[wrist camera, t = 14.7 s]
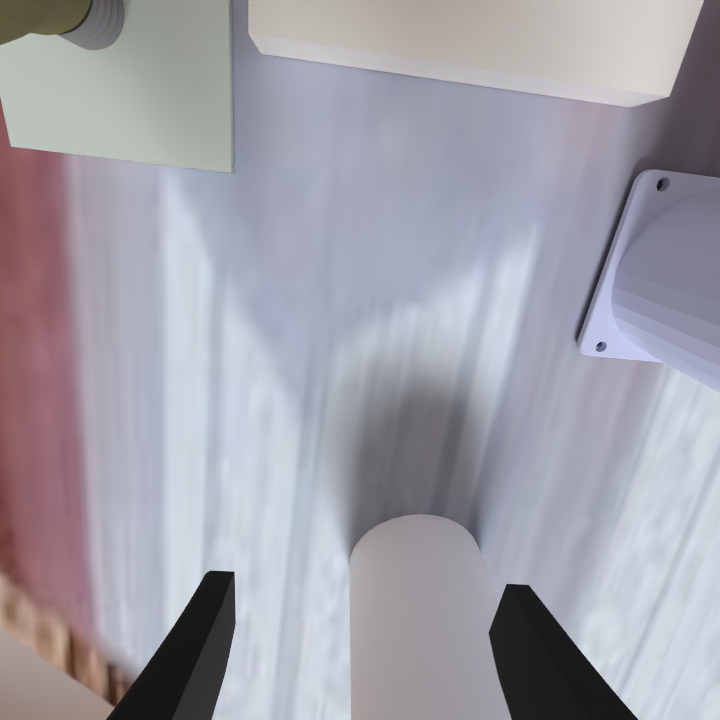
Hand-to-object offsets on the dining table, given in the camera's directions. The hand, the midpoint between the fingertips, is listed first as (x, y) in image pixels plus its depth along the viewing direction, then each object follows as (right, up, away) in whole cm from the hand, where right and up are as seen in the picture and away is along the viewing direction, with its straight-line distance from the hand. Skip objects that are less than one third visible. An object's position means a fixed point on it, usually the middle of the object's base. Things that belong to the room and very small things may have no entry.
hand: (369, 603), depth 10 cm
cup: (+3, -8, +15) cm, 18 cm away
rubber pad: (-9, +18, +3) cm, 20 cm away
